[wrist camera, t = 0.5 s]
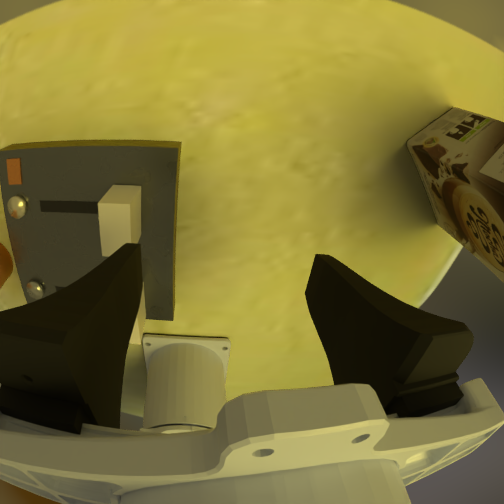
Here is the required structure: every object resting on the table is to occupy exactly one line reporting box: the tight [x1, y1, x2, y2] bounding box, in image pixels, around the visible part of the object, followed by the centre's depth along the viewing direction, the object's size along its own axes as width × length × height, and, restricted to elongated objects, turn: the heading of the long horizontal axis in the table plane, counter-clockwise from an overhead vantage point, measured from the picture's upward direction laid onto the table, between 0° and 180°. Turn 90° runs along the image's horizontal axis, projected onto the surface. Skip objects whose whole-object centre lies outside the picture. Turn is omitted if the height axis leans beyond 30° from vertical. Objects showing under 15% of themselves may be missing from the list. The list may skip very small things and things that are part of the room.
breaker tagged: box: [98, 185, 141, 257], centre depth 17 cm, size 3×2×3 cm, turn 171°
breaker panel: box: [0, 140, 182, 321], centre depth 19 cm, size 13×13×2 cm
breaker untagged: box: [129, 282, 146, 345], centre depth 20 cm, size 3×2×3 cm, turn 172°
